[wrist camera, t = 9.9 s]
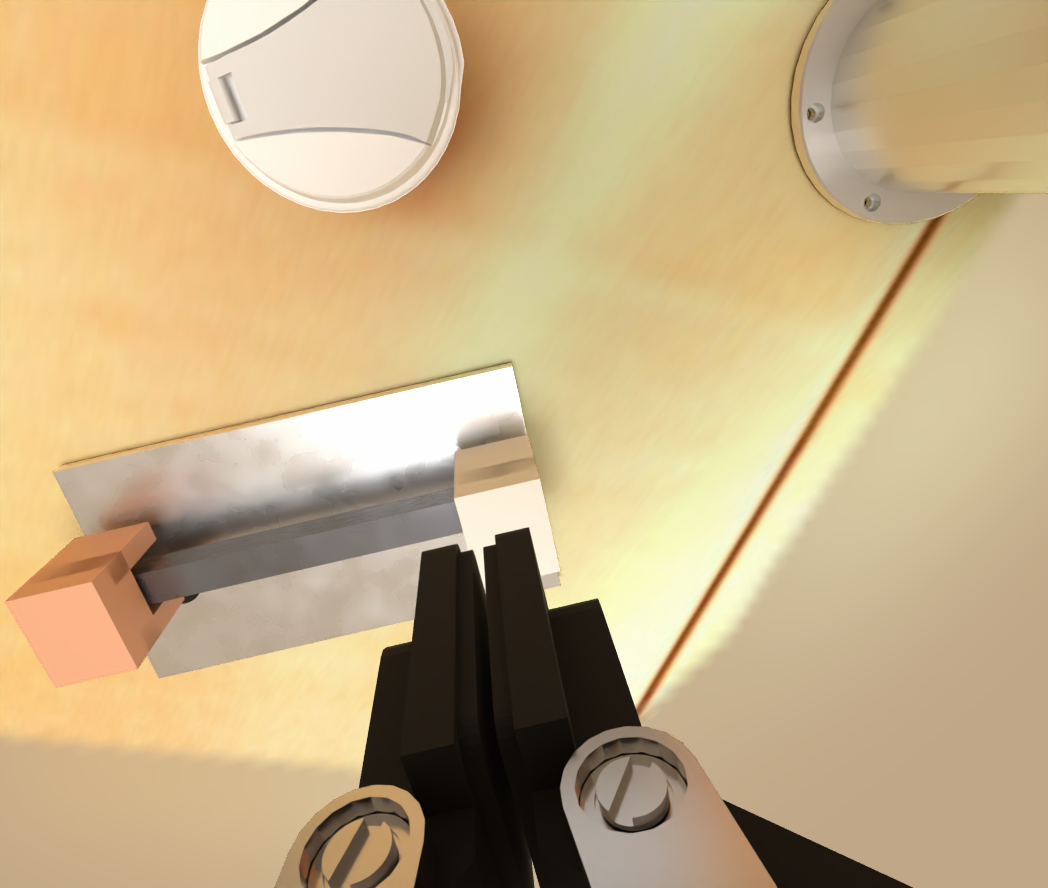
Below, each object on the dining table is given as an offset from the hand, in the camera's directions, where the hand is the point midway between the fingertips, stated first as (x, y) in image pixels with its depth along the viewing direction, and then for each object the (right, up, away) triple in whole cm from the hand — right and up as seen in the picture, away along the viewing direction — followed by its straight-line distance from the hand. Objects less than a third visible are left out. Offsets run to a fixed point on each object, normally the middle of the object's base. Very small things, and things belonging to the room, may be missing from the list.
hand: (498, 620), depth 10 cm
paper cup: (-6, +18, +22) cm, 29 cm away
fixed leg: (-1, +1, +28) cm, 28 cm away
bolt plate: (-11, -2, +29) cm, 31 cm away
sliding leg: (-21, -4, +27) cm, 35 cm away
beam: (-11, -1, +28) cm, 31 cm away
